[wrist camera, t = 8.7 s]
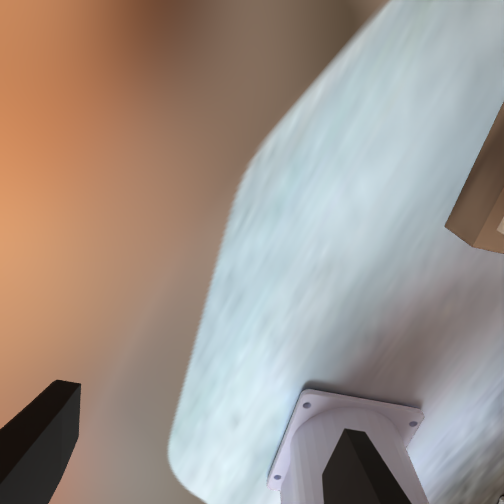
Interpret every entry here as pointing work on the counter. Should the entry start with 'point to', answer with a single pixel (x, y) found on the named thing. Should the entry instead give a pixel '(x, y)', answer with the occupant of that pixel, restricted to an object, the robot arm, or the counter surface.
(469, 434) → the counter surface
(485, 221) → the walnut base slab
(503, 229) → the cream middle slab
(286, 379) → the counter surface
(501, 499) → the skincare box
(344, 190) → the counter surface
